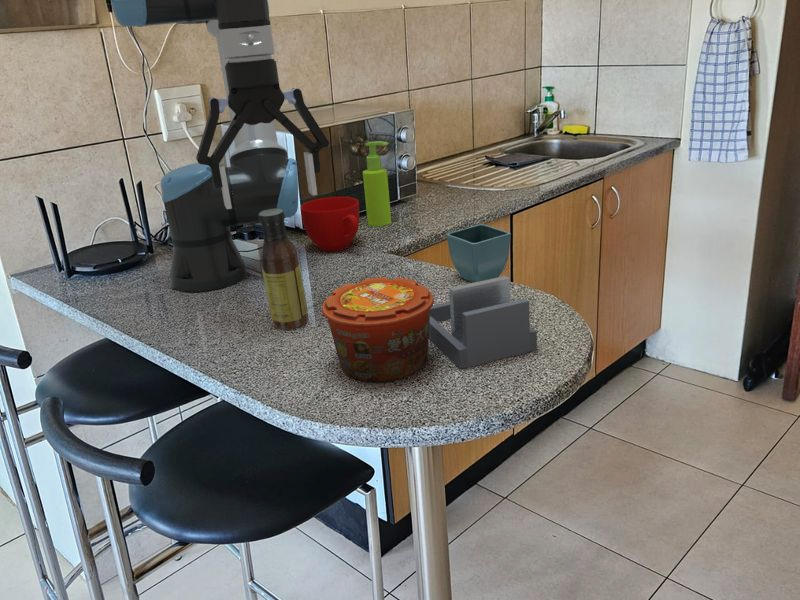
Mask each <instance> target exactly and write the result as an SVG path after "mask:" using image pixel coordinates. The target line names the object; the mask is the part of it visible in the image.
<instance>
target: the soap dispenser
mask: <svg viewBox="0 0 800 600" xmlns="http://www.w3.org/2000/svg"><path fill="white" fill-rule="evenodd" d="M389 144H390V143H389V142H387V141H383V140H382V141H381V140H375V141H368V142H365V147H368V151H369V154H368V155H367V156H365V157H366V158H365V159H366V166H367V168H366V169H365V170H363V171H362V180H363V188H364V200H365V209H366V218H367V225H368V226H369V227H384V226H389V225H390V224H392V213H391V203H390V191H389V180H388V179H389V178H388V169H386V168H384V167H382V161H381V160H382V159H381V158H382V157H381V155H380V154H378V153H377V146H383V147H387V146H388V145H389Z"/></svg>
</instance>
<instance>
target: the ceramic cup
mask: <svg viewBox="0 0 800 600" xmlns="http://www.w3.org/2000/svg"><path fill="white" fill-rule="evenodd" d="M300 205H301V206H300V215H301V219H302V224H303V227H304V230H305V232H306V234H307V236H308V237H309V239H310V240H311V242H312V243H313V244H314V245H315V246H316V247H318V248H319V249H320V250H321V251H322V252H338V251H342V250H345V249H347V248H349V247H350V245H351V244H352V242H353V240H354V239H355V237H356V235H357V233H358V230H359V224H360V202H359V199H357V198H354V197H351V196H350V197H349V196H331V197H322V198H317V199H313V200H309V201H306V202H304V203H302V204H300Z"/></svg>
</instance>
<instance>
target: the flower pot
mask: <svg viewBox="0 0 800 600" xmlns="http://www.w3.org/2000/svg"><path fill="white" fill-rule="evenodd" d="M445 235H446V241H447V247H448V251H449V254H450V255H449V256H450V259H451V262H452V264H453V266H454V269H455V270H456V271H457V273H458V274H459V275H460V276H461V278H463V279H465V280H467V281H469V282H470V283H475V282H480V281H484V280H489V279H493V278H498V277H501V275H502V273H503V271H504V270H505V267H506V265H507V263H508V259H509V255H510V254H509V253H510V246H511V245H510V244H511V235H512V233H511V232H509V231H506V230H502V229H499V228H497V227H493V226H489V225H487V224H483V223H480V224H476V225H472V226H470V227H469V226H468V227H466V228H462V229H459V230H455V231H451V232H449V233H446V234H445Z"/></svg>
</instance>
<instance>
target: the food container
mask: <svg viewBox="0 0 800 600" xmlns="http://www.w3.org/2000/svg"><path fill="white" fill-rule="evenodd" d="M434 303H435V299H434V294H433V293H432V291H430V290H429V288H428V287H426V286H425V285H421V284H419V282H418V281H416V280H414V279H410V278H404V277H403V278H402V277H395V278H394V279H389V278H388V277H387V276H386V277H385V276H383V277H372V278H367V279H365V278H364V279H362V280H360V282H358V283H347V284H344V285H341V286H339V287H337V288H336V289H334V290H333V291H332V293H331V295H329V296H327V297H326V299H325V300H324V301H323V302H322V304H321V315H322V317H323V318H324V317H325V319H326V320H327V321H328V326H329V329H330V333H331V336H332V340H333V344H334V348H335V351H336V355H337V358H338V361H339V366H340V368H341V371H342V372H343V374H344V375H345V376H347V377H348V378H350V379H352V380H354V381H358V382H361V383H375V384H378V383H390V382H396V381H399V380H403V379H405V378H409V377H411V376H412V375H415V374H417V373H418V372H420V371H421V370H422V369H423V368H424V367H425V365H426V364H427V362H428V356H429V341H430V339H429V323H430V308H432V306H433V305H435V304H434Z"/></svg>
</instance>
